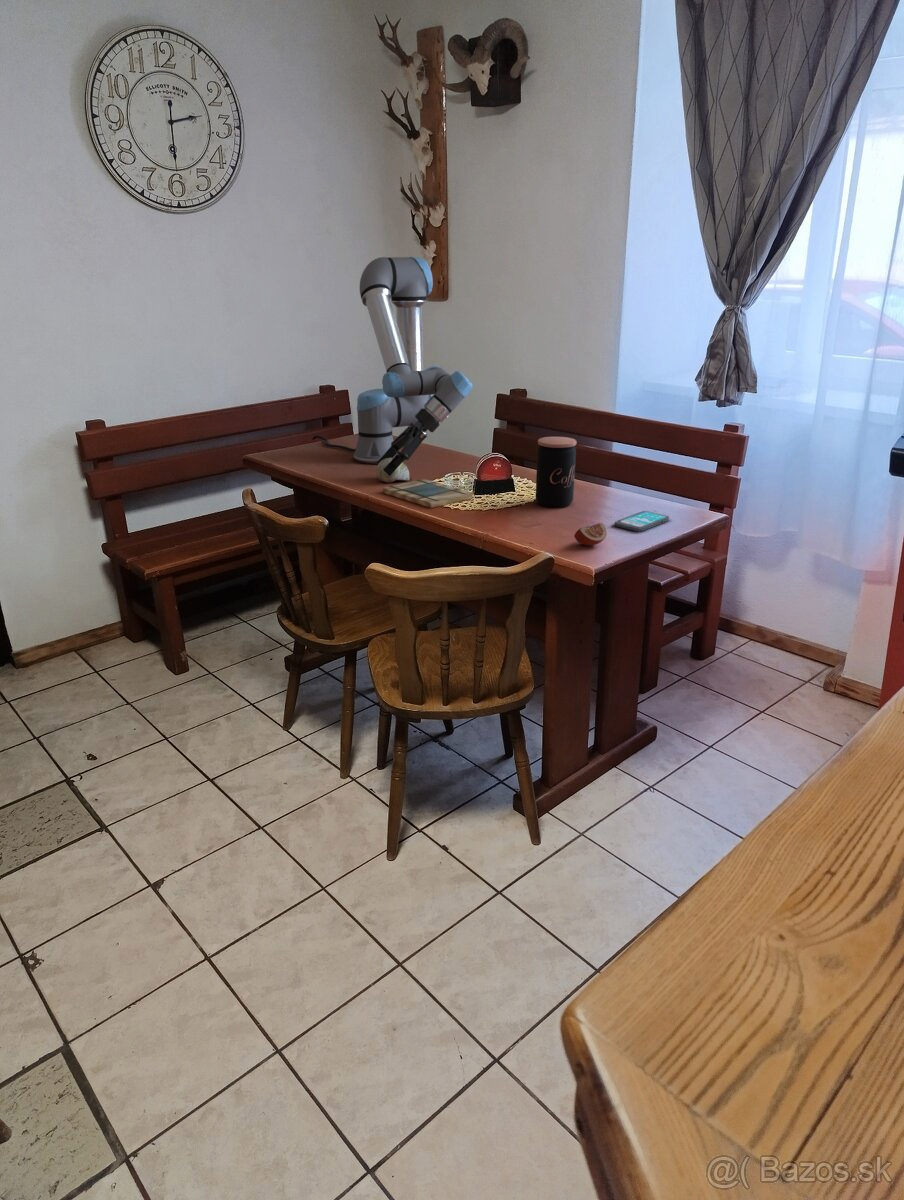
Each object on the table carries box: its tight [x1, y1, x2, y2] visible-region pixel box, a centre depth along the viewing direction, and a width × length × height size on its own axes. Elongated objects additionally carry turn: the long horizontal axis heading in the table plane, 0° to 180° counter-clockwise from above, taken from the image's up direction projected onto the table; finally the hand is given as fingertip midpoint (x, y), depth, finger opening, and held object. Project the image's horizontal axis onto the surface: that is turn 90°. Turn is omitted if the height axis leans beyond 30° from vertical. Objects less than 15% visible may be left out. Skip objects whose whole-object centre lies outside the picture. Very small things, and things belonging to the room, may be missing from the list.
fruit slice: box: [573, 522, 608, 546], centre depth 197 cm, size 8×7×5 cm
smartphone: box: [614, 510, 670, 532], centre depth 214 cm, size 9×1×15 cm
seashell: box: [376, 458, 411, 484], centre depth 254 cm, size 10×10×10 cm
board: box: [382, 478, 474, 509], centre depth 239 cm, size 22×16×2 cm
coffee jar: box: [535, 436, 578, 509], centre depth 228 cm, size 11×11×18 cm
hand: (383, 469), depth 253 cm, fingers closed on seashell, 10 cm apart
